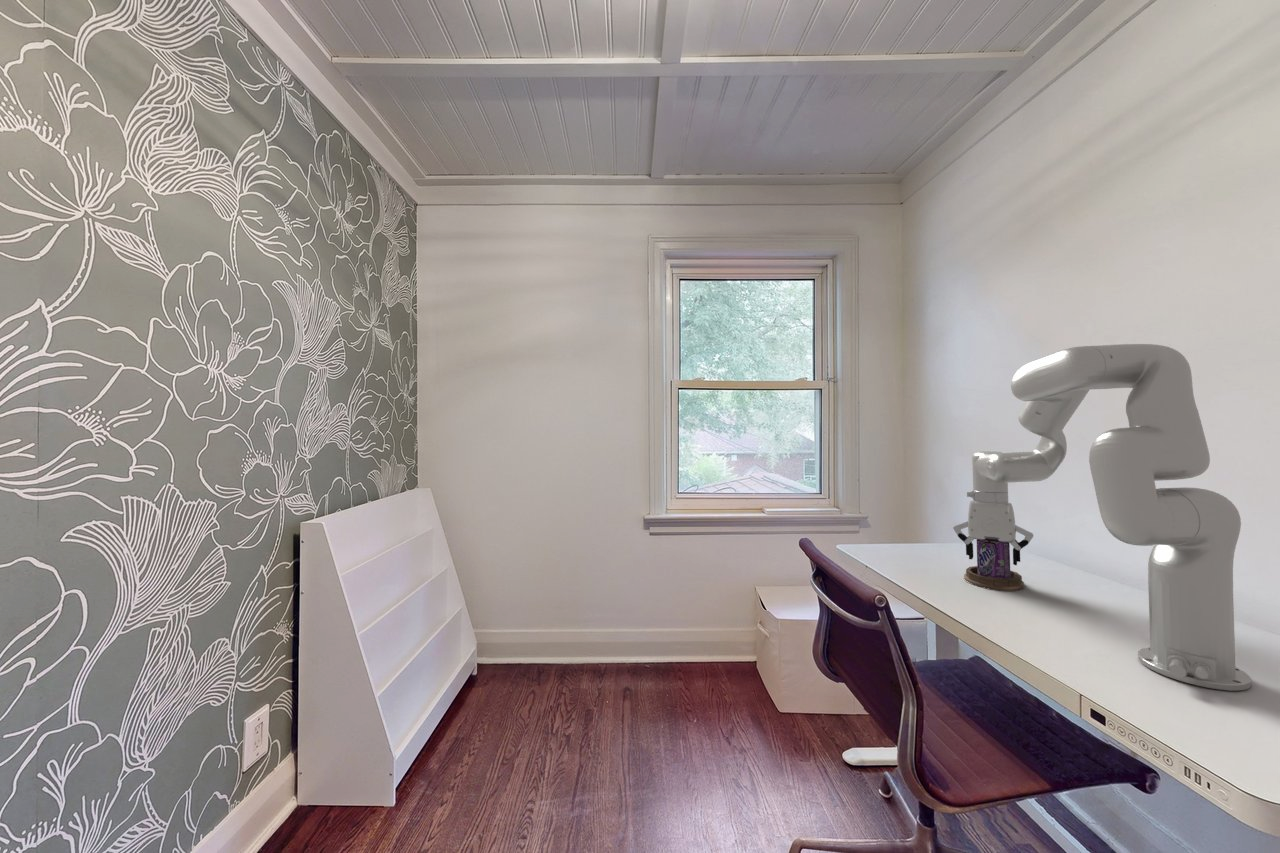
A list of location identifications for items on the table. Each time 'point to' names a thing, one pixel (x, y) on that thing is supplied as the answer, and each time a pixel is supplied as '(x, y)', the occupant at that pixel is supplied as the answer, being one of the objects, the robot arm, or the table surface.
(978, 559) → the beverage can
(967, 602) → the table surface
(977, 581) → the walnut coaster
